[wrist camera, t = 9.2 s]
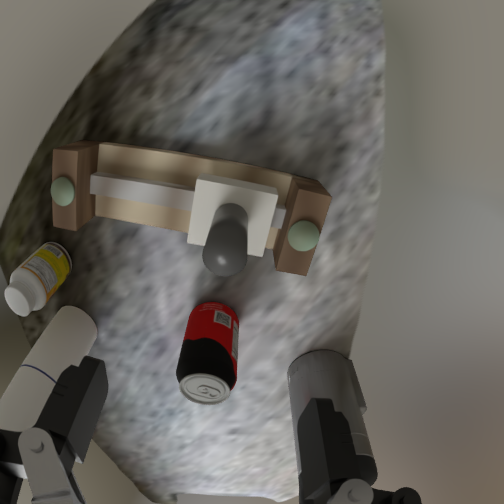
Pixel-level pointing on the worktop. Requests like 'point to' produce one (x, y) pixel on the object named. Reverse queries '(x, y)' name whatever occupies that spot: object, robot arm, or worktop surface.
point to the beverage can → (209, 354)
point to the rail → (177, 174)
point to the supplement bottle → (38, 278)
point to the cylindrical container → (46, 367)
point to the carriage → (230, 221)
